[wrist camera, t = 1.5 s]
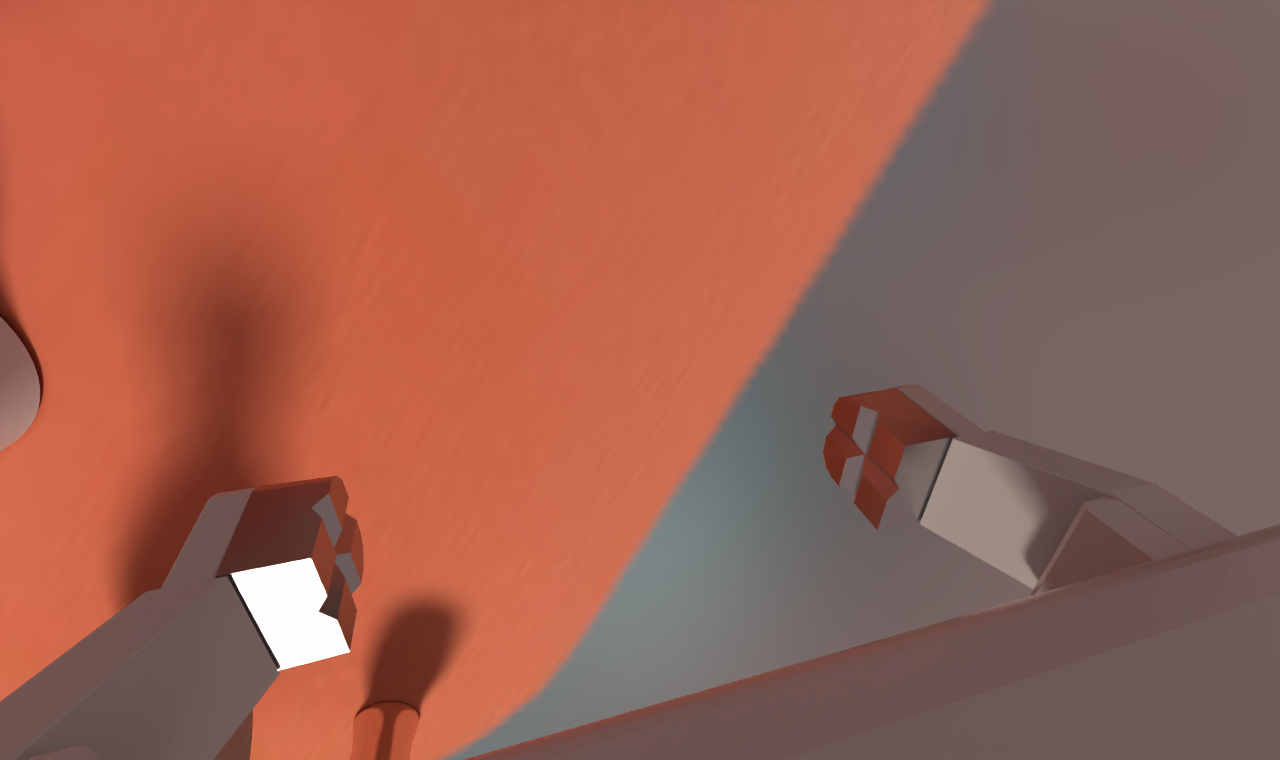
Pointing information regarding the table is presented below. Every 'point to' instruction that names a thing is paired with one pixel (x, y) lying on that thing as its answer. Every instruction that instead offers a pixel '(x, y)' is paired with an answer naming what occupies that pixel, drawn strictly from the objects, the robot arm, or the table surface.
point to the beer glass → (384, 732)
